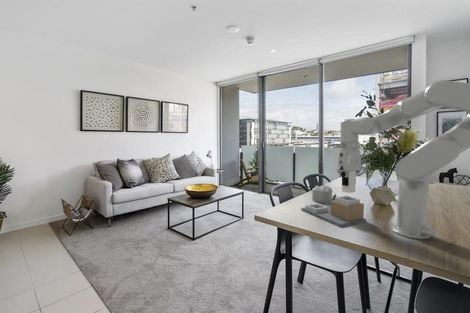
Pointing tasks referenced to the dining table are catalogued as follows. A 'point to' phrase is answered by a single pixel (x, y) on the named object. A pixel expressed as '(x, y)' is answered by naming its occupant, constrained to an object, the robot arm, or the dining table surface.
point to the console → (339, 211)
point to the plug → (350, 182)
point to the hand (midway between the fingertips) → (348, 184)
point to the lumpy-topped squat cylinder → (322, 194)
